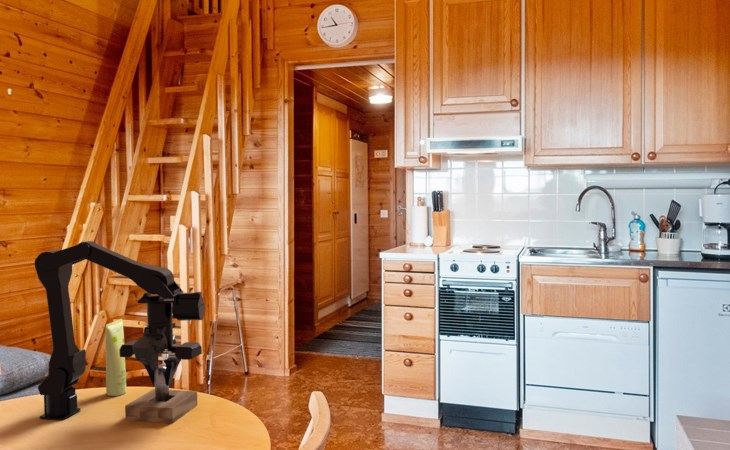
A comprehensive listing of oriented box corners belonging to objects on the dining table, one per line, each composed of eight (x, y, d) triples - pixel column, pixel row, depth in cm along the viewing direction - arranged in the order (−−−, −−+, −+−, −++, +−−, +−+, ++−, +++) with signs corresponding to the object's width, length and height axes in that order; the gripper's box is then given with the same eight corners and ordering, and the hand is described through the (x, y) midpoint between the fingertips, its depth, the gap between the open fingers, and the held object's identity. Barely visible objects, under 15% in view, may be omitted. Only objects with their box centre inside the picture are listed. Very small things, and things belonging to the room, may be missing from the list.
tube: (128, 394, 152) (126, 321, 151) (108, 398, 149) (105, 324, 149) (124, 389, 157) (122, 318, 156) (104, 392, 154) (102, 320, 153)
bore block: (125, 420, 134) (125, 405, 134) (153, 402, 146) (153, 389, 146) (172, 423, 132) (172, 408, 132) (197, 405, 143) (197, 391, 143)
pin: (152, 402, 137) (150, 368, 137) (160, 397, 140) (158, 365, 140) (164, 402, 137) (163, 369, 136) (172, 397, 140) (170, 365, 140)
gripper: (103, 327, 132) (106, 394, 132) (178, 329, 128) (180, 398, 129) (132, 317, 143) (134, 379, 143) (201, 319, 139) (203, 382, 140)
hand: (161, 385), depth 138 cm, fingers closed on pin, 3 cm apart
